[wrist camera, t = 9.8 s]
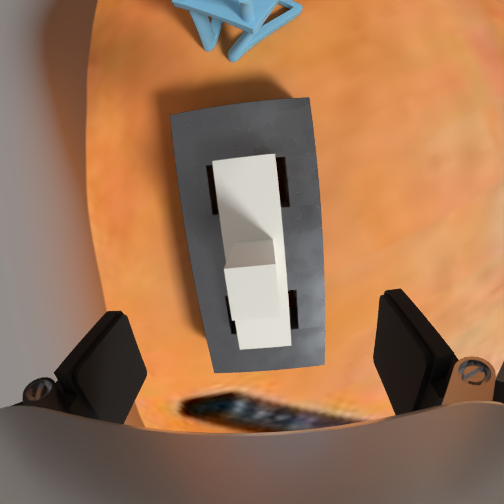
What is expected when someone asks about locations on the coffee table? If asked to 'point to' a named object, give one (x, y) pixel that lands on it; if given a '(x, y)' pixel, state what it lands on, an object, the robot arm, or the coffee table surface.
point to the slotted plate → (293, 222)
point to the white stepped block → (254, 249)
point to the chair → (237, 20)
